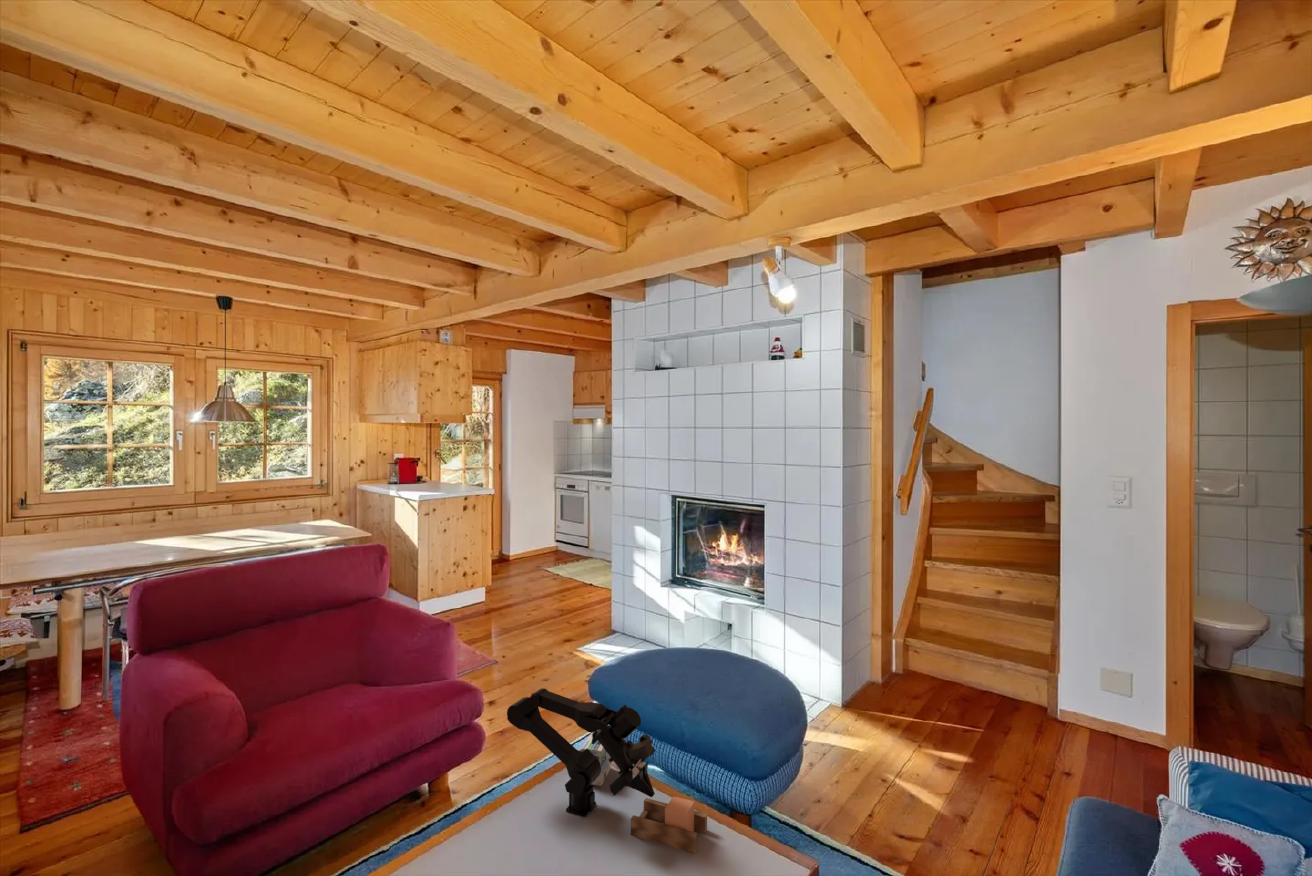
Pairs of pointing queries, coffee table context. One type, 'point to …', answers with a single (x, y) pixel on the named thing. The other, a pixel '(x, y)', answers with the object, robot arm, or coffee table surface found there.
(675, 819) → the terracotta block
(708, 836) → the coffee table surface
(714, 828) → the coffee table surface
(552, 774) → the coffee table surface
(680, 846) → the walnut chute
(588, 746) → the light bulb box
